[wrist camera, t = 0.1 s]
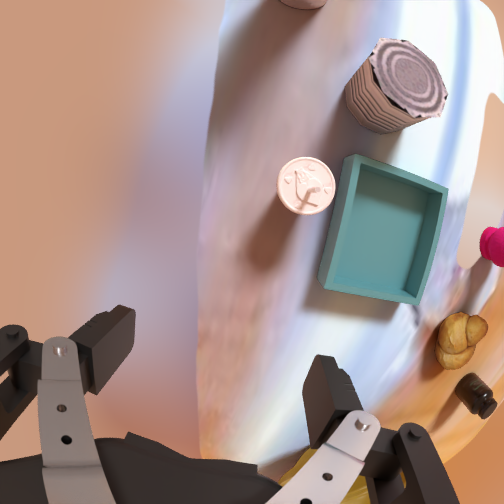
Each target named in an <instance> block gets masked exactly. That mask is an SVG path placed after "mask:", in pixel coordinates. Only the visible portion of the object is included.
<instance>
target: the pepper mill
mask: <svg viewBox="0 0 504 504" xmlns="http://www.w3.org/2000/svg"><path fill="white" fill-rule="evenodd" d="M480 251H481V255H482V256H483V257H484V258H485V259H488V260H491V261H493V263H494V264H495V265H497V266H500V267H504V227H501V228H499V229H497V228H494V227H488V228H486V229H485V230H484V231H483V233H482V235H481V239H480Z"/></svg>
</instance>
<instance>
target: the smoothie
mask: <svg viewBox="0 0 504 504" xmlns="http://www.w3.org/2000/svg"><path fill="white" fill-rule="evenodd" d="M277 193H278V195H279V198H280V200H281V201H282V203H283V204H284V206H285V207H287V208H288V209H289V210H290V211H292V212H295V213H297V214H301V215H313V214H317V213H319V212H321V211H323V210H324V209H325V208H326V207H328V205H329V204H330V203H331V201H332V199H333V197H334V194H335V180H334V177H333V174H332V172H331V171H330V169H329V168H328V167H327V166H326V165H325V164H324V163H323V162H321V161H320V160H318V159H315V158H311V157H300V158H296V159H294V160H291V161H290V162H288V163H287V164H286V165H285V166H284V167H283V168H282V169H281V171H280V173H279V175H278V178H277Z"/></svg>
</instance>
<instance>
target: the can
mask: <svg viewBox="0 0 504 504" xmlns="http://www.w3.org/2000/svg"><path fill="white" fill-rule="evenodd" d="M345 93H346V103H347V108H348V109H349V110H350V111H351V113H352V114H353V115H354V117H355V118H356V119H357V121H358V122H359V123H360V125H361V126H364V127H366V128H368V129H370V130H373V131H375V132H377V133H379V134H385V133H389V132H394V131H399V130H401V129H404V128H406V127H408V126H411V125H413V124H416V123H418V122H421V121H423V120H426V119H428V118H431V117H440V116H441V113H442V110H443V107H444V104H445V101H446V98H447V95H448V93H447V91H446V88H445V85H444V83H443V81H442V78H441V75H440V74H439V71H438V69H437V67H436V65H435V63H434V62H433V61H432V60H431V59H429V58H428V57H427V56H426V55H425V54H424V53H422V52H421V51H420V50H419V49H418V48H416V47H415V46H414V45H413V44H411V43H410V42H409V41H405V40H397V39H388V38H380V39H379V41H378V43H377V44H376V46H375V48H374V49H373V51H372V53H371V54H370V56H369V57H368V58H367V59H366V60H365V62H364V63H363V64H362V65H361V67H360V68H359V69H358V70H357V71H356V73H355V74H354V75H353V77H352V78H351V79H350V80H349V82H348V83H347V84H346V86H345Z"/></svg>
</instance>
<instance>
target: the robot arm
mask: <svg viewBox="0 0 504 504" xmlns="http://www.w3.org/2000/svg"><path fill="white" fill-rule="evenodd" d="M280 1H281V2H283V3H284V4H286V5H288V6H291V7H294V8H298V9H316V8H319V7H321V6H323V5H324V4H325V3H326V1H327V0H280ZM135 316H136V314H135V310H134V309H131V308H128V307H125V306H122V305H117V306H116V307H115V308H114V309H113V310H112V311H110V312H107V311H105V312H102V313H99V314H96V316H94V317H93V318H91V320H90V321H88V322H87V323H85V325H83V326H82V327H80V328H79V329H78V330H77V331H75V332H74V333H73V334H72V335H71V336H69V337H68V338H65V337H53V338H50V339H48V340H46V341H45V342H44V344H43V343H39V342H35V341H31V340H29V338H28V333H27V330H26V329H25V328H24V327H22V326H19V325H7V326H4V327H2V328H1V329H0V376H1V375H2V374H3V373H4V372H5V371H8V374H9V376H8V377H7V378H6V379H5V380H4V381H3V382H2V383H1V384H0V440H1V439H2V437H3V436H4V435H5V434H6V432H7V431H8V430H9V428H10V427H11V426H12V424H13V423H14V422H15V421H16V420H17V418H18V417H19V416H20V415H21V413H22V412H23V411H24V410H25V409H26V407H27V406H28V405H29V404H30V402H31V401H32V400H33V399H34V398H35V396H36V395H37V394H38V418H39V432H40V442H41V450H42V454H38V455H34V456H29V457H24V458H19V459H14V460H8V461H2V462H0V504H340V503H341V501H342V500H343V498H344V497H345V495H346V494H347V492H348V491H349V489H350V488H351V486H352V485H353V483H354V481H355V480H356V478H357V477H358V475H360V476H365V479H366V484H367V489H368V494H369V499H370V504H460V503H459V501H458V498H457V496H456V493H455V491H454V488H453V486H452V484H451V481H450V479H449V477H448V475H447V472H446V470H445V468H444V466H443V463H442V461H441V459H440V457H439V455H438V453H437V451H436V449H435V447H434V444H433V442H432V440H431V438H430V436H429V434H428V433H427V431H426V430H425V429H424V428H423V427H422V426H420V425H418V424H415V423H405V424H403V425H402V426H401V427H400V428H399V430H398V431H394V430H390V429H385V428H382V427H381V426H380V423H379V421H378V419H377V418H376V417H375V416H373V415H372V414H370V413H368V412H365V411H364V410H363V408H362V405H361V403H360V400H359V398H358V396H357V393H356V392H355V388H354V386H353V383H352V381H351V379H350V376H349V375H348V374H347V373H346V372H345V371H344V370H343V369H339V368H338V366H337V363H336V361H335V358H334V357H331V356H324V355H316V356H315V358H314V360H313V363H312V365H311V367H310V370H309V372H308V375H307V377H306V379H305V382H304V385H303V390H302V395H303V401H304V407H305V414H306V420H307V426H308V433H309V439H310V446H311V449H318V450H317V452H316V453H315V454H314V455H313V456H312V457H311V458H310V460H309V461H308V462H307V463H306V464H305V465H304V466H303V467H302V468H301V469H300V470H299V471H298V473H297V474H296V475H295V476H294V477H293V478H292V479H291V480H290V481H289V482H288V483H287V484H286V485H285V486H284V487H282V486H281V485H280V484H278V483H277V482H275V481H273V480H272V479H270V478H268V477H265V476H263V475H261V474H258V473H257V465H255V464H248V463H242V462H236V461H230V460H218V459H192V458H188V457H186V456H184V455H181V454H179V453H178V452H175V451H173V450H172V449H170V448H168V447H166V446H164V445H162V444H160V443H159V442H155V441H153V440H150V439H147V438H144V437H141V436H139V435H136V434H133V433H131V432H128V433H127V435H126V437H125V439H121V438H98V439H94V438H93V435H92V430H91V426H90V422H89V417H88V413H87V408H86V404H85V398H84V395H85V394H86V392H87V391H89V392H91V393H93V394H95V395H98V393H99V392H100V391H101V389H102V388H103V387H104V385H105V384H106V383H107V381H108V380H109V379H110V378H111V376H112V375H113V374H114V372H115V371H116V370H117V368H118V367H119V366H120V364H121V363H122V362H123V361H124V359H125V358H126V357H127V356H128V354H129V353H130V352H131V350H132V347H133V344H134V334H135ZM402 471H403V474H404V477H405V480H406V487H405V488H404V484H403V481H402V478H401V475H400V473H401V472H402Z"/></svg>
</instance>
